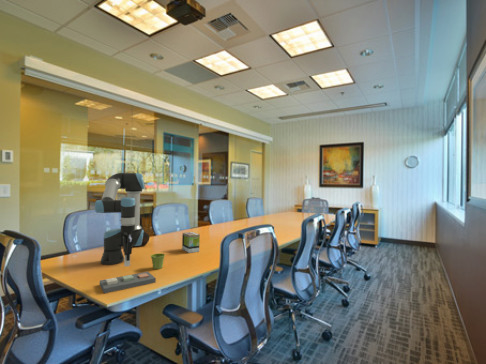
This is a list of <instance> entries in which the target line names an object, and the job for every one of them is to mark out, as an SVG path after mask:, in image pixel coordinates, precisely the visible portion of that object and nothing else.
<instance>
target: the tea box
mask: <svg viewBox="0 0 486 364" xmlns="http://www.w3.org/2000/svg"><path fill="white" fill-rule="evenodd" d="M181 236H182V242H181V243H182V244H181V247H182V248H181V250H183V251H185V252H186V253H188V254H191V253H198V252H200V241H201V240H200V238H201V237H200V233H197V232H194V231H188V232H187V231H185V232H182V235H181Z"/></svg>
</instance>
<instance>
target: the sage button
mask: <svg viewBox="0 0 486 364" xmlns="http://www.w3.org/2000/svg"><path fill="white" fill-rule="evenodd" d="M122 280H123V281H124V282H126V281H131V280H134V277H133V276H132V274H128V275H123V276H122Z"/></svg>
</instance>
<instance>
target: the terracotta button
mask: <svg viewBox="0 0 486 364" xmlns="http://www.w3.org/2000/svg"><path fill="white" fill-rule="evenodd" d="M147 277H149V275H148V274H147V273H144V274H139V275H138V278H139V279H141V278H147Z"/></svg>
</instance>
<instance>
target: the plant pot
mask: <svg viewBox="0 0 486 364" xmlns="http://www.w3.org/2000/svg"><path fill="white" fill-rule="evenodd" d="M165 257H166V254H164V253H153V254H151V255H150V258H151V261H152V262H151V263H152V264H151V265H152V268H153V270H161V269H163V266H164V261H165Z"/></svg>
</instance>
